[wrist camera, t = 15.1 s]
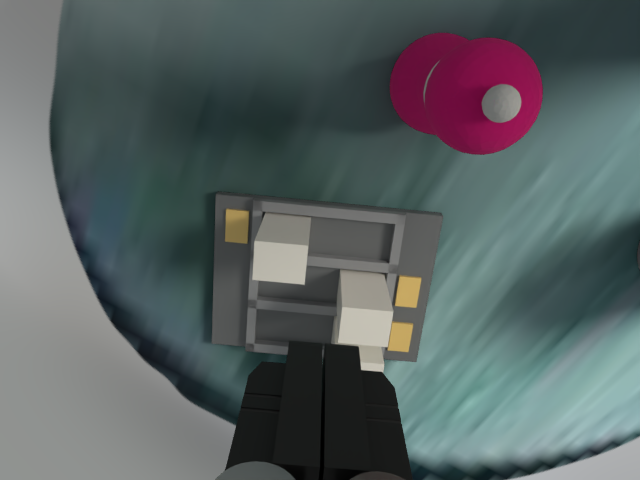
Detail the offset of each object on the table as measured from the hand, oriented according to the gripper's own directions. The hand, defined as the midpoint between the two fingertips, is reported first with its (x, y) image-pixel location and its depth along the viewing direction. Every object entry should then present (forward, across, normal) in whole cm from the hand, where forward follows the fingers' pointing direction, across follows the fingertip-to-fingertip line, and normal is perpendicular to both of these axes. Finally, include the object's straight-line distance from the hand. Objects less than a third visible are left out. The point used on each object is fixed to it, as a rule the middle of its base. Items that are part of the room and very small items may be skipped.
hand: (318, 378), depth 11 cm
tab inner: (+34, +3, +9) cm, 35 cm away
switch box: (+35, -1, +13) cm, 37 cm away
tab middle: (+34, -4, +13) cm, 37 cm away
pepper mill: (+35, -8, -5) cm, 36 cm away
